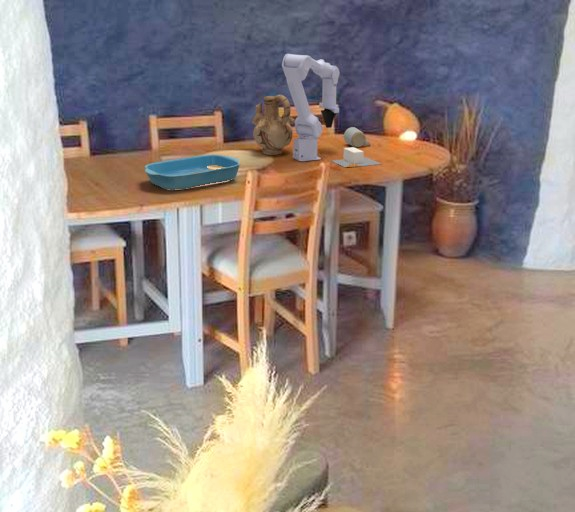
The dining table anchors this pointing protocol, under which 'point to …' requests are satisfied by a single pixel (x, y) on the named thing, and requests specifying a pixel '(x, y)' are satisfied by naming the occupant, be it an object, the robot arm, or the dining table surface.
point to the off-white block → (353, 155)
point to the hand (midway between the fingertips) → (328, 127)
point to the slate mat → (365, 163)
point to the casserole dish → (192, 171)
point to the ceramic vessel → (273, 125)
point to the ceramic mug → (355, 137)
